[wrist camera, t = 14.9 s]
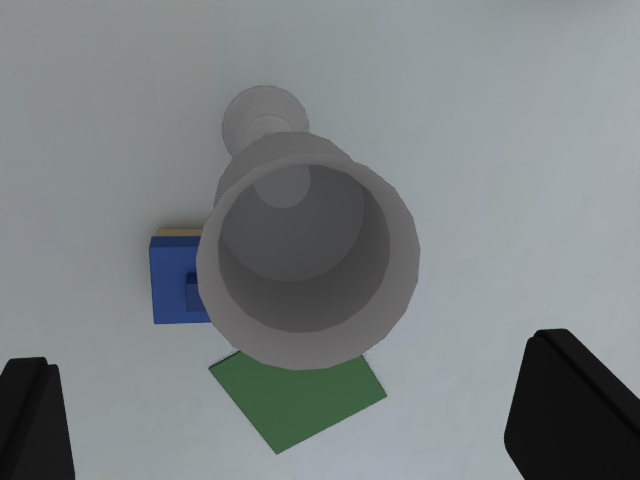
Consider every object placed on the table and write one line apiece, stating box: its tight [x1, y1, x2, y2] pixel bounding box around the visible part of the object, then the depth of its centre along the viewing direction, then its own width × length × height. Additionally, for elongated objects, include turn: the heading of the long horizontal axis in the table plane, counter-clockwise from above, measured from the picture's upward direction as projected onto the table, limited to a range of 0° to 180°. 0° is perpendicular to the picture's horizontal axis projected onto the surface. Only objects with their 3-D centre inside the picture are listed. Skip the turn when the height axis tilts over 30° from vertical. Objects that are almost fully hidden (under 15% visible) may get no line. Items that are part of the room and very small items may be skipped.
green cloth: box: [209, 351, 387, 455], centre depth 41 cm, size 10×10×1 cm
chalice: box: [196, 86, 420, 370], centre depth 25 cm, size 7×7×18 cm
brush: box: [149, 229, 211, 324], centre depth 35 cm, size 13×5×5 cm, turn 87°
